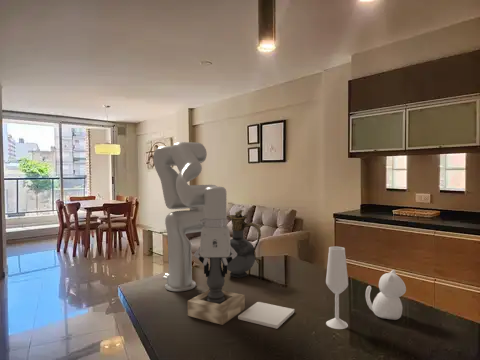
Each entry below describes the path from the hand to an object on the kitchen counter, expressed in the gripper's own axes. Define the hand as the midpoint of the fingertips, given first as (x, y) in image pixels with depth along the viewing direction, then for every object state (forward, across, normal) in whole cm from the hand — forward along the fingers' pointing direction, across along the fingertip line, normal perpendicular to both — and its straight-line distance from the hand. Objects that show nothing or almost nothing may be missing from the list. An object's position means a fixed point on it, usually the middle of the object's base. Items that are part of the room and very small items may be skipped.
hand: (215, 275), depth 119 cm
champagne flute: (+12, +39, -10) cm, 42 cm away
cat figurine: (+12, +56, -4) cm, 58 cm away
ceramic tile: (+12, +17, -3) cm, 22 cm away
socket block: (+13, 0, -1) cm, 13 cm away
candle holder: (+12, 0, 0) cm, 12 cm away
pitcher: (+13, +9, +40) cm, 43 cm away
